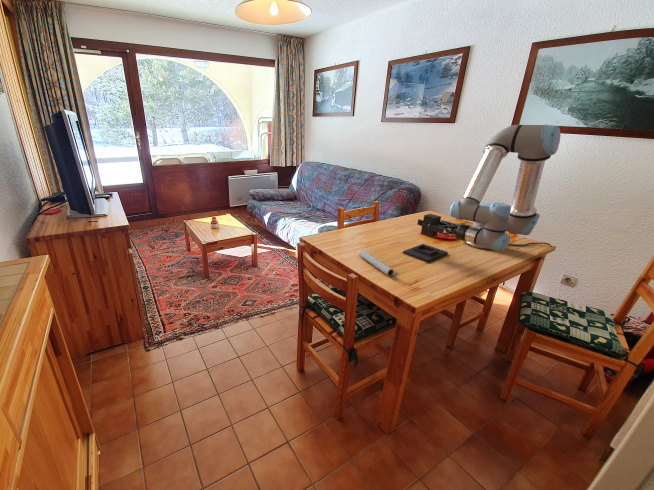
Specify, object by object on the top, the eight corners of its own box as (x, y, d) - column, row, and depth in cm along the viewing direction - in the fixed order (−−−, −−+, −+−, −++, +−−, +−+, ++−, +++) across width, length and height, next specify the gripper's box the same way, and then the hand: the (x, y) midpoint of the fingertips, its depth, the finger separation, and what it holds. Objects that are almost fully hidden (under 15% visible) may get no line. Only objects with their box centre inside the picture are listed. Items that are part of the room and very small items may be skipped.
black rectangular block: (426, 232, 160) (429, 213, 156) (437, 235, 155) (441, 216, 152) (420, 234, 157) (424, 215, 153) (431, 237, 153) (435, 218, 149)
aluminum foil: (359, 256, 157) (359, 250, 155) (370, 255, 159) (371, 249, 157) (386, 276, 137) (388, 269, 136) (399, 274, 139) (400, 267, 138)
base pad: (422, 245, 171) (423, 241, 170) (447, 254, 160) (448, 249, 159) (402, 253, 161) (403, 248, 160) (427, 262, 151) (428, 257, 150)
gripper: (456, 245, 137) (409, 231, 155) (475, 237, 147) (429, 224, 164) (460, 229, 134) (412, 216, 152) (479, 222, 144) (432, 211, 161)
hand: (421, 221), depth 158 cm, fingers closed on black rectangular block, 5 cm apart
